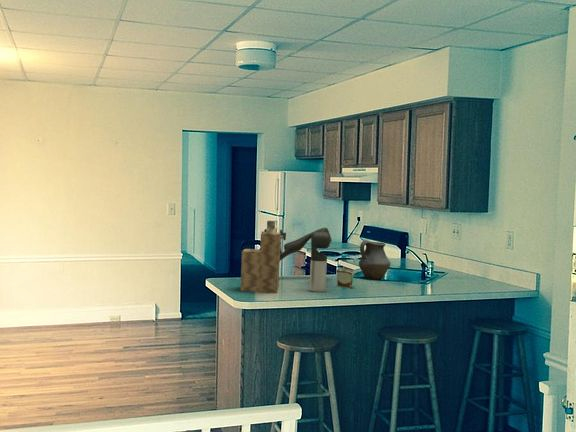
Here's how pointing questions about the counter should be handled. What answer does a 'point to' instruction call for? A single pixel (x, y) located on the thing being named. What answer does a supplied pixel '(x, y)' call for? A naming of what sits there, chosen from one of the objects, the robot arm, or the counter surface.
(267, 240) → the walnut step stand
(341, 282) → the food container
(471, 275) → the counter surface
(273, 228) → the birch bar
